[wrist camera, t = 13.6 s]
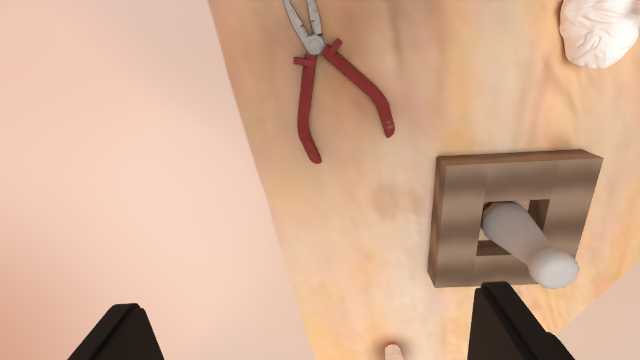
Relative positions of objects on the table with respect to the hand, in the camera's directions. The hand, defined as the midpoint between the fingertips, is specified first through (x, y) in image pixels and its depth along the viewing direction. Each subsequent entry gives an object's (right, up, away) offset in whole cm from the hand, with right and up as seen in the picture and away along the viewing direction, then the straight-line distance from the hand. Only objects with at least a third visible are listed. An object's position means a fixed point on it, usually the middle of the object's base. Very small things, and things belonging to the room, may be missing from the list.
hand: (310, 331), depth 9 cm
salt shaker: (+25, 0, +35) cm, 43 cm away
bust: (+29, +23, +26) cm, 45 cm away
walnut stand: (+25, -1, +35) cm, 43 cm away
